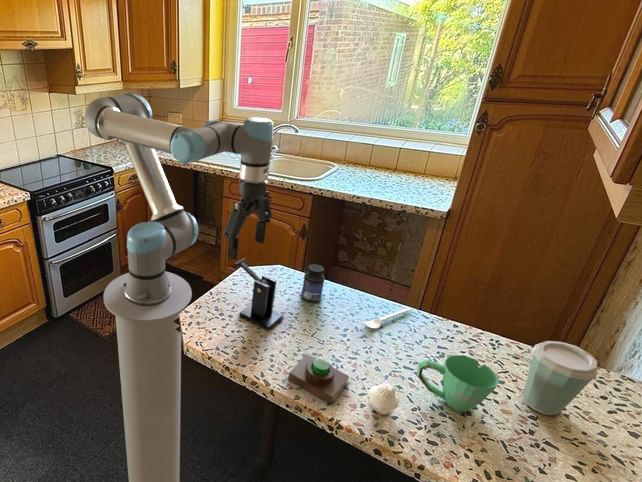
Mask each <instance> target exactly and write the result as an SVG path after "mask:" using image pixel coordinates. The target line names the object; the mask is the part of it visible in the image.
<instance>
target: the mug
mask: <svg viewBox="0 0 642 482" xmlns="http://www.w3.org/2000/svg"><path fill="white" fill-rule="evenodd" d="M424 369H431V370H435V371H437V372H439V373H441V374H443V377H442V389H440V388H438V387H437V386H435V385H433V384H432V383H430V382H429V380H428V379H427V378H426V377H425V375H424V373H423V371H424ZM416 376H417V378H418V379H419V380H420V381H421V383H422V385H424V387H425V388H426V390H427V391H429V392H430V393H432V394H434V395H435V396H437V397H439V398H440V399H442V400H443V401H444V402H445V404H446V405H447V406H448V407H450V408H451V409H452V410H454V411H456V412H461V413H467V412H468V411H470V410H472V409H474V408H476V407H477V406H479V404H481V403H482V402H483V401H485V400H486V398H488V396H489V395H491V393H492V392H494V391H495V390H496V388H497V386H498V385H499V384H500V383H499V377H498V375H497V374H496V372H495V371H494V370H493V369H492V368H491V367H489V366H488V365H486V364H483V365H481V366H479V360H478V359H475V358H473V357H469V356H467V355H466V356H465V355H458V354H457V355H451V356H448V357H446V359H445V360H444V363H443V364H441V363H439V362H436V361H434V360H430V359H424V360H421V361H419V362H418V364H417V371H416Z"/></svg>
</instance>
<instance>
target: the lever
mask: <svg viewBox="0 0 642 482" xmlns="http://www.w3.org/2000/svg"><path fill="white" fill-rule="evenodd" d="M246 262H247V258H246V257H243V258H241V259H240V260H238V261H236V262H235V263H233V268H235V269H236V268H239V266H240V268H242V269H243V270H244V271H245V272H246V273H247V274H248V275H249V276H250V277H251V278H252V279H253V280H254V281H256V280H257V281H259V282H261V283H263V284H266V285H268V286H269V289H270V288H271V287H272V285H271V284H270V283H269V282H268V281H267V280H266V279H264V280H263V281H262V280H261V279H262V278H260V277H259V276H258V275H257V274H256V273H255V272H254V271H253V270H252V269H251V268H250V267H249V266H248V265H247V264H246Z"/></svg>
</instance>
